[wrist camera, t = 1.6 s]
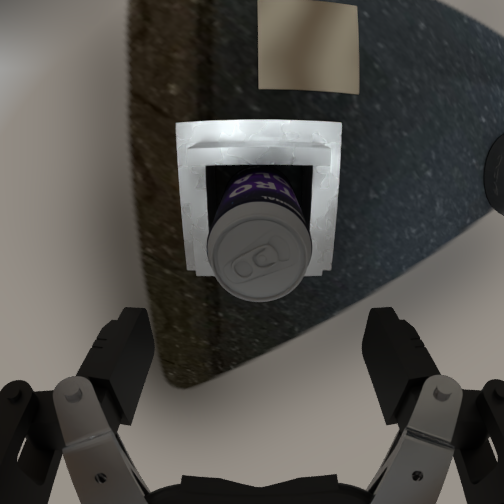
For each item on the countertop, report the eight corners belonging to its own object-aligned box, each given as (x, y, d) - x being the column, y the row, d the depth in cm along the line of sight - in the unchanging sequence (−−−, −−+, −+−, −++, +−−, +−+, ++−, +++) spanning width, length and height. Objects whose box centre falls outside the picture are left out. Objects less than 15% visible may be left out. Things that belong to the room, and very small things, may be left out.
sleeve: (338, 122, 24) (356, 125, 19) (328, 265, 29) (340, 293, 25) (178, 122, 24) (161, 126, 20) (189, 264, 30) (177, 293, 25)
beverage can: (304, 207, 27) (334, 278, 16) (247, 238, 29) (241, 323, 18) (271, 150, 25) (281, 184, 14) (212, 185, 27) (180, 243, 16)
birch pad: (355, 8, 19) (357, 6, 19) (356, 94, 23) (358, 94, 22) (257, 0, 20) (257, -2, 19) (258, 89, 23) (258, 88, 22)
